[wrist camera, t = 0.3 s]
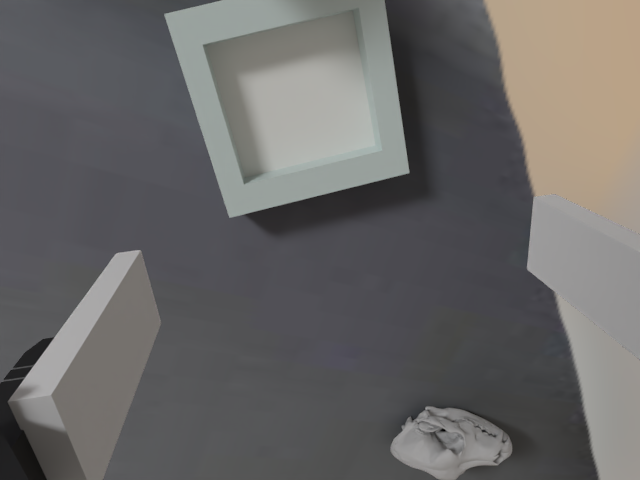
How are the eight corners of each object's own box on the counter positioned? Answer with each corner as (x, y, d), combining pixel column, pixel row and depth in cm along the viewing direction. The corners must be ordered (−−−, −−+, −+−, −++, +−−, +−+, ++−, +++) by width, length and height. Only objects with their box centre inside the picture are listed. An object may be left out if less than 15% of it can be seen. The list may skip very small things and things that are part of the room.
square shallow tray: (173, 18, 35) (164, 14, 32) (368, -29, 36) (379, -37, 33) (232, 205, 42) (229, 217, 38) (398, 164, 42) (409, 173, 39)
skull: (383, 425, 51) (492, 466, 43) (417, 380, 57) (517, 409, 50) (390, 479, 53) (494, 526, 46) (421, 430, 60) (517, 464, 52)
